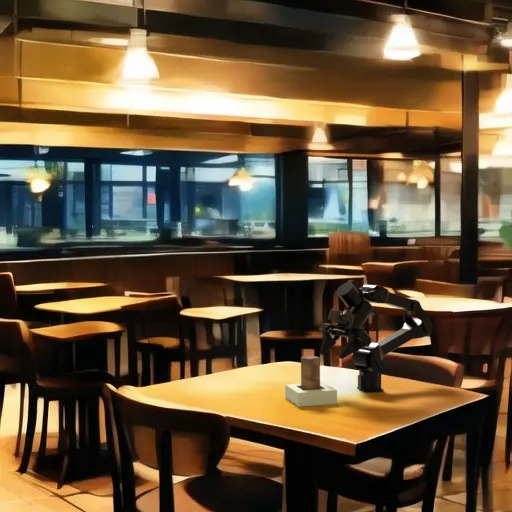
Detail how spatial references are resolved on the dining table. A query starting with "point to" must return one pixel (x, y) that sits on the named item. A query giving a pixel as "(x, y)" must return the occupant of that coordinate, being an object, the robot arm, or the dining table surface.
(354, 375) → the dining table surface
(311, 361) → the walnut block
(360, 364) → the robot arm
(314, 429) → the dining table surface
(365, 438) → the dining table surface
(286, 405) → the dining table surface
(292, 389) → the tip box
